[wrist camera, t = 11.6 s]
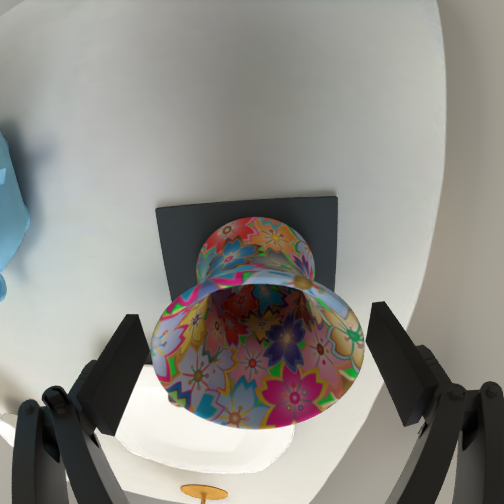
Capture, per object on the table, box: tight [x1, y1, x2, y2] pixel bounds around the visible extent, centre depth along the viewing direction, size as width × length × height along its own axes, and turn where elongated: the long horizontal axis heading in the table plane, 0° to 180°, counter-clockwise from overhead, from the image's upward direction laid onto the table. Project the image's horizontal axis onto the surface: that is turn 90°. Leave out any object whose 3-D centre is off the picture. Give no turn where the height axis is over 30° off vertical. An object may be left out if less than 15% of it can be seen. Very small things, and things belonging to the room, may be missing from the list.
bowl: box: [0, 413, 69, 481], centre depth 31 cm, size 20×20×6 cm
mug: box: [151, 217, 364, 430], centre depth 16 cm, size 12×9×11 cm
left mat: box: [155, 196, 338, 302], centre depth 22 cm, size 13×12×1 cm
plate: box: [115, 364, 295, 474], centre depth 28 cm, size 23×23×2 cm
